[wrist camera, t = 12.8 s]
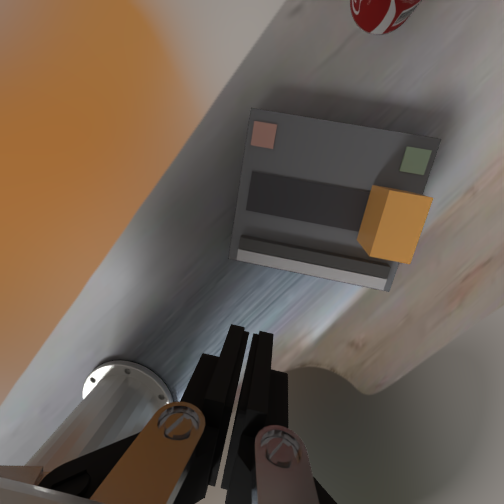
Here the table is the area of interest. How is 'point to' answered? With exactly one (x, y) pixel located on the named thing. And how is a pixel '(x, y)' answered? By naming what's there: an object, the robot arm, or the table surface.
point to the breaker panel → (320, 194)
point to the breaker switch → (393, 223)
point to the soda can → (381, 14)
